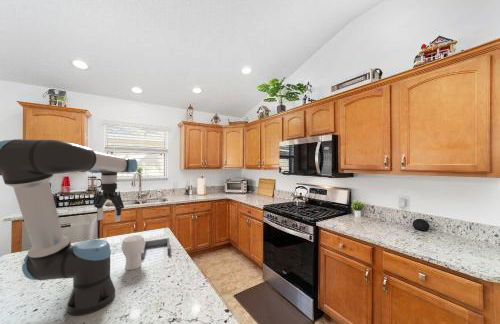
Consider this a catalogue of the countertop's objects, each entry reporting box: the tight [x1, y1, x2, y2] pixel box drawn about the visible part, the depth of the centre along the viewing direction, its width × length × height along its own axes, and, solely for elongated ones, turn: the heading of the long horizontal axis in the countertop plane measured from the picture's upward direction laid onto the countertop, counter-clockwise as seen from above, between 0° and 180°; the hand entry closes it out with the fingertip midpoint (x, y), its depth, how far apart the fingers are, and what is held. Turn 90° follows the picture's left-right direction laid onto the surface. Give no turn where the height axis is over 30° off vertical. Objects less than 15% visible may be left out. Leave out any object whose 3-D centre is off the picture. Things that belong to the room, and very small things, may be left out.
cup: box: [121, 234, 146, 271], centre depth 110 cm, size 11×11×15 cm
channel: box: [141, 237, 171, 261], centre depth 129 cm, size 19×15×4 cm
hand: (108, 220), depth 116 cm, fingers open, 13 cm apart
